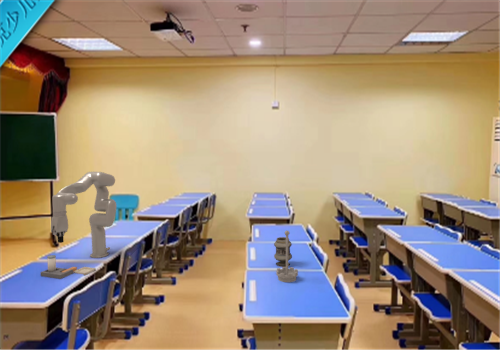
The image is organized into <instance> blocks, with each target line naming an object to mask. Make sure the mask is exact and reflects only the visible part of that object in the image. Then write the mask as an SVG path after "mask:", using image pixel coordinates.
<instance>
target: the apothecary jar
mask: <svg viewBox="0 0 500 350" xmlns="http://www.w3.org/2000/svg"><path fill="white" fill-rule="evenodd" d="M292 245H293V244H292V242H291V241H290V238H289V237H288V267H290V265H291V263H290V262H289V261H290V260H292V258H293V254H291V247H292ZM273 247H275V253H274V254H273V257H274V259H275V260H276V261H277V262H276V263H275V265H276V266H277V267H279V268H280V267H281V268H282V267H286V236H280V237H277V238H276V240H275V241H274V243H273Z"/></svg>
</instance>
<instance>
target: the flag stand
mask: <svg viewBox="0 0 500 350" xmlns="http://www.w3.org/2000/svg"><path fill="white" fill-rule="evenodd" d="M289 235H290V231H289V230H285V232H284V236H285V237H286V267H281V268H280V267H278V268H277V269H276V270H275V271H276V273H275V274H276V276H277V280H278V281H279V282H281V283H293V282H296V281H297V277H298V275H299V270H298V269H297V268H295V267H292V266H291V267H290V266H288V262H289V261H288V238H289Z"/></svg>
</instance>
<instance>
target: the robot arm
mask: <svg viewBox="0 0 500 350" xmlns="http://www.w3.org/2000/svg"><path fill="white" fill-rule="evenodd" d="M115 182H116V179H115V176H114V175H112V174H110V173H105V172H102V171H87V172H86V173H85V174H84V175H83V176H82V177H80V178H79V179H78V180H77V181H76V182H73V183H71V184H69V185H66V186H64V187H63V188H61V189H60V190H59V191H58V192H57V193H56V194H53V195H52V198H51V199H52V217H51V221H50V232H51V233H52V235H54V236H56V237H57V243H59V244H62V243H64V241H65V240H64V236H65V234H66V233H67V232H68V229H69V221H68V220H69V219H68V216H67V206H69V205H71V206H72V205H75V204H77V202H78V201H79V199H78V195H77V194H81V193H85V192H86V191H87V190H89V188H91V186H94V188H95V190H96V195H95V199H94V200H95V201H94V207H93V209H94V210H95V211H97V212H95V213H92V214H90V216H89V219H88V220H89V226H90V230H91V231H90V232H91V250H92V251H91V254H90V255H89V257H90V258H91V259H98V258H99V259H100V258H101V259H102V258H105V257H107V256H109V251H110V250H111V247H110V246H109V247H108V246H107V237H106V229H105V228H106V227H107V228H108V227H109V228H110V227H112V226H113V224H114V222H115V219H116V217H115V216H116V212H117V202H116V201H115V200H114V199H113V198H112V199H111V198H109V195H110V191H109V189H108V187H113V186H114V185H115ZM98 212H99V213H98ZM102 212H103V213H102Z"/></svg>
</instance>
